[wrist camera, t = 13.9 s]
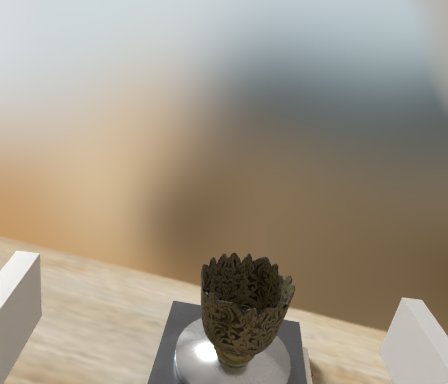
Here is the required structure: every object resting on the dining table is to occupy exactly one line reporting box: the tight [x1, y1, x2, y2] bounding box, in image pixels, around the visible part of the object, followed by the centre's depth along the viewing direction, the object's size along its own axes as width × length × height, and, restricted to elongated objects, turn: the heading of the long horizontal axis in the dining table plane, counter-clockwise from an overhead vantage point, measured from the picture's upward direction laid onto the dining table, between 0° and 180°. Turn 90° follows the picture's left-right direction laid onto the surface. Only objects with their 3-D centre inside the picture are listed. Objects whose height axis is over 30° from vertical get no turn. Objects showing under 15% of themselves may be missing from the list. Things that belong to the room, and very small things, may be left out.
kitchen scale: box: [148, 301, 313, 384], centre depth 36 cm, size 14×13×4 cm
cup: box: [201, 253, 295, 367], centre depth 34 cm, size 8×7×8 cm
